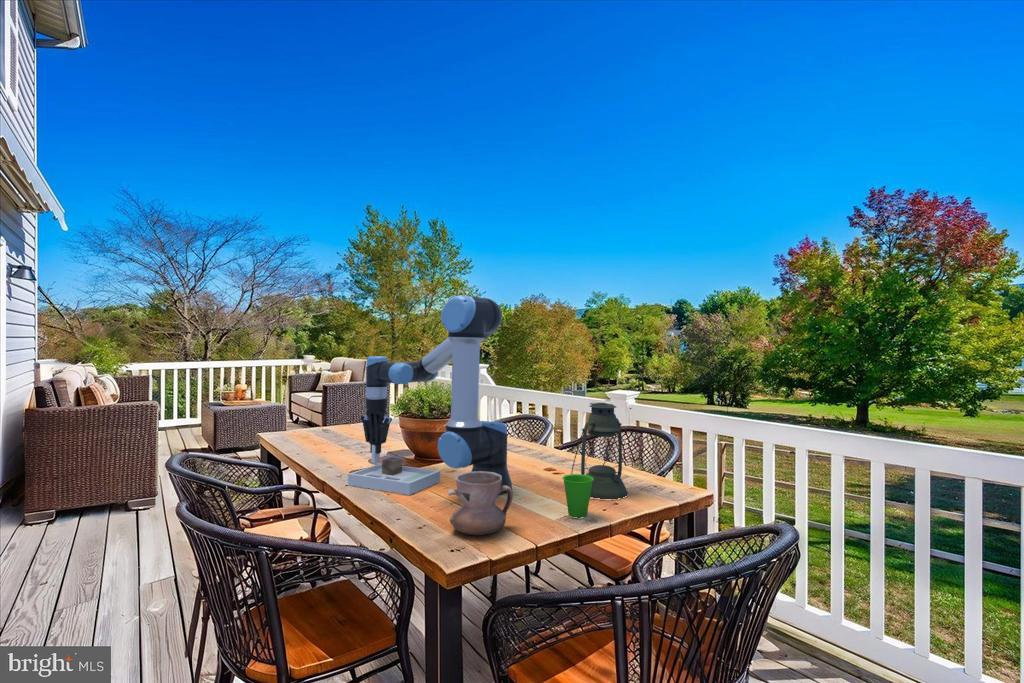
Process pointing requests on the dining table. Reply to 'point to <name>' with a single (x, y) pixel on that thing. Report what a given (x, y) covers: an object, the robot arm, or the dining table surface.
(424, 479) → the box
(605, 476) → the lantern
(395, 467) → the walnut block
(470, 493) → the ceramic jug
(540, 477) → the dining table surface
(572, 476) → the cup
